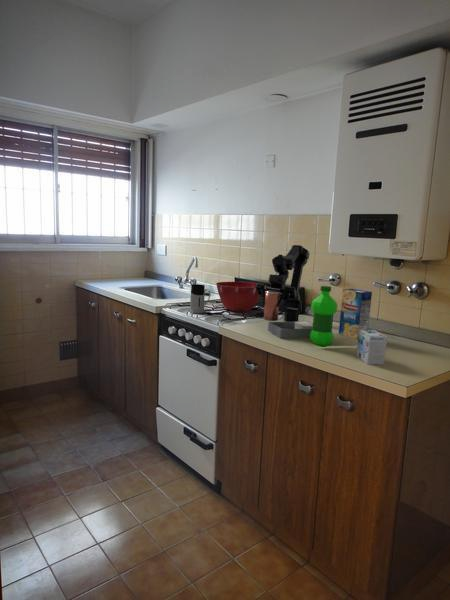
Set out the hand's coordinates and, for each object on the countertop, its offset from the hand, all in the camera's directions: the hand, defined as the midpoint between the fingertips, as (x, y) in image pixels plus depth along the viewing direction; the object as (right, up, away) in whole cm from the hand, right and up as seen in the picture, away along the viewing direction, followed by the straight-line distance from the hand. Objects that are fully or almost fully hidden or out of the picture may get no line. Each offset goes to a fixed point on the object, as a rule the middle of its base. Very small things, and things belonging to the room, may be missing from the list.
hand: (270, 305), depth 191 cm
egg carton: (+16, -13, +2) cm, 20 cm away
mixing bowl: (-13, -3, +60) cm, 62 cm away
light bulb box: (+34, -21, -31) cm, 51 cm away
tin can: (0, -6, +2) cm, 7 cm away
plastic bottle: (+20, -17, -13) cm, 29 cm away
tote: (+11, -14, +1) cm, 18 cm away
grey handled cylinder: (-35, -5, +46) cm, 58 cm away
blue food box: (+38, -15, +4) cm, 41 cm away
